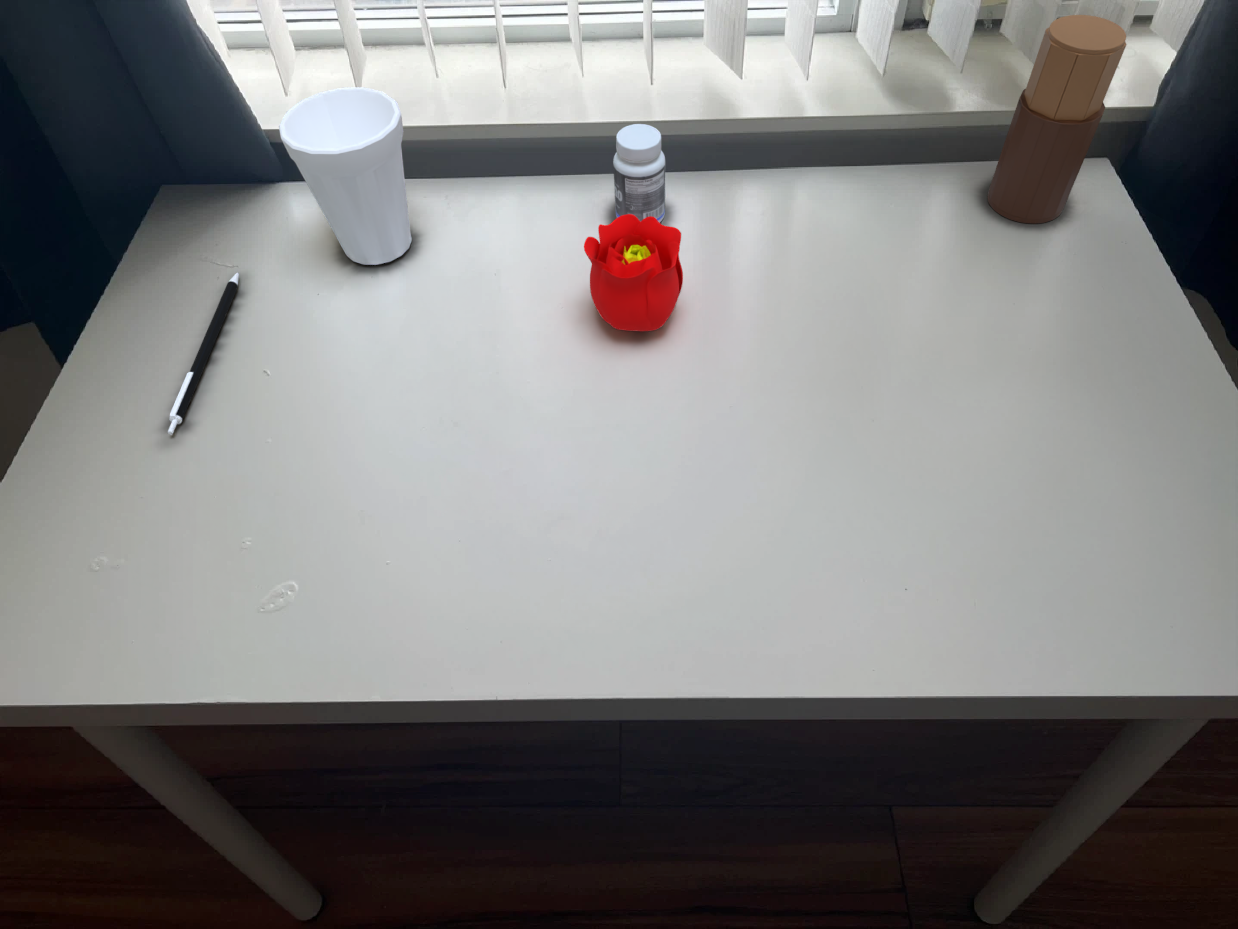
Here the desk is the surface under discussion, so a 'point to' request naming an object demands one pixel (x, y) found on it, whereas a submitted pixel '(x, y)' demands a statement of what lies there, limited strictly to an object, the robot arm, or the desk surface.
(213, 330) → the pen
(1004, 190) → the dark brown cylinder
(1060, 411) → the desk surface
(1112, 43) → the brown octagonal prism
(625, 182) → the pill bottle
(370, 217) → the cup
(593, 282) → the flower
